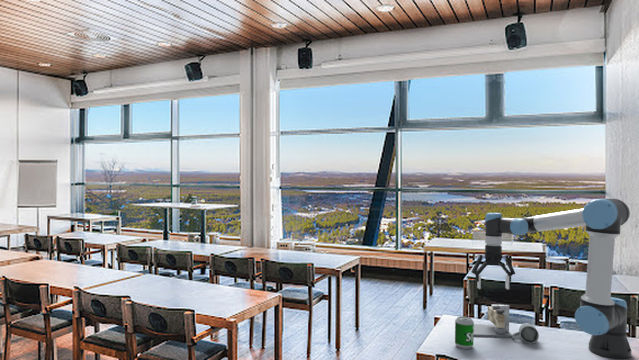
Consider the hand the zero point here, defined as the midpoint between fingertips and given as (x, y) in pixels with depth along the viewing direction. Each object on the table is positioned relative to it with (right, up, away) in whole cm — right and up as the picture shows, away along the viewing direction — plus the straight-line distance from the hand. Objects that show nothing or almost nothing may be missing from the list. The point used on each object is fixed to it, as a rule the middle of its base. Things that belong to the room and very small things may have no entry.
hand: (493, 288), depth 215 cm
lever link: (-1, -15, -5) cm, 16 cm away
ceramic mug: (+8, -20, -16) cm, 27 cm away
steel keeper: (+1, -19, -6) cm, 20 cm away
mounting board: (-5, -19, -5) cm, 20 cm away
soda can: (-22, -19, -25) cm, 38 cm away
